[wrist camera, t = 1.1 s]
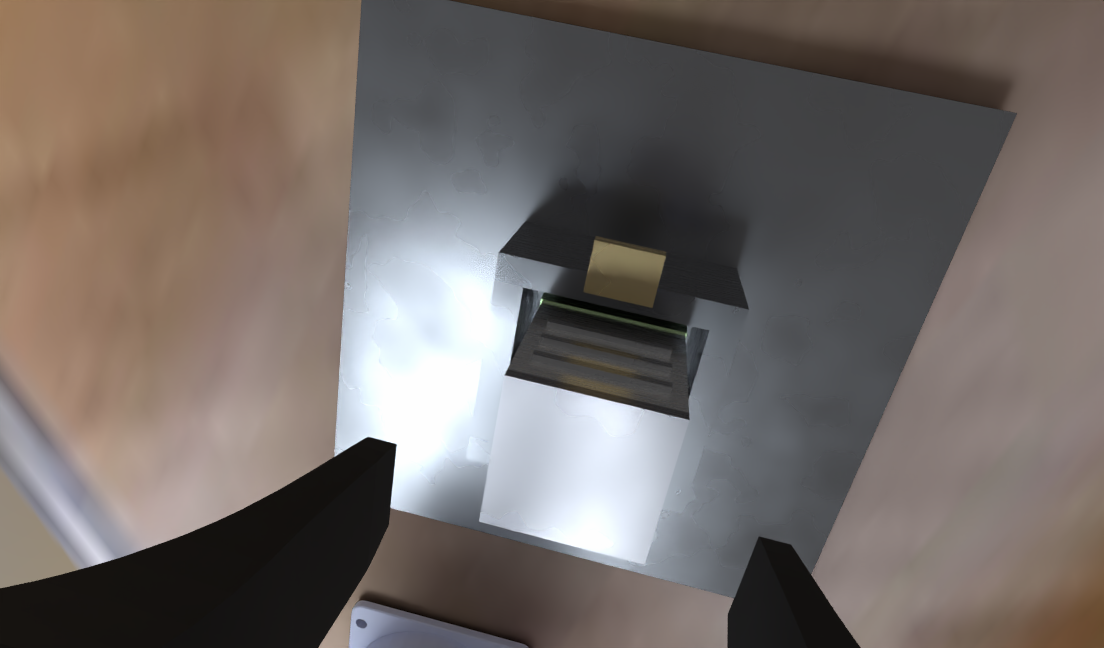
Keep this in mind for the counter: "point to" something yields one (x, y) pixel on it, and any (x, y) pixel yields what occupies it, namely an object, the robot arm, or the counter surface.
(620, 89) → the stand base
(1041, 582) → the counter surface
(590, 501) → the column
